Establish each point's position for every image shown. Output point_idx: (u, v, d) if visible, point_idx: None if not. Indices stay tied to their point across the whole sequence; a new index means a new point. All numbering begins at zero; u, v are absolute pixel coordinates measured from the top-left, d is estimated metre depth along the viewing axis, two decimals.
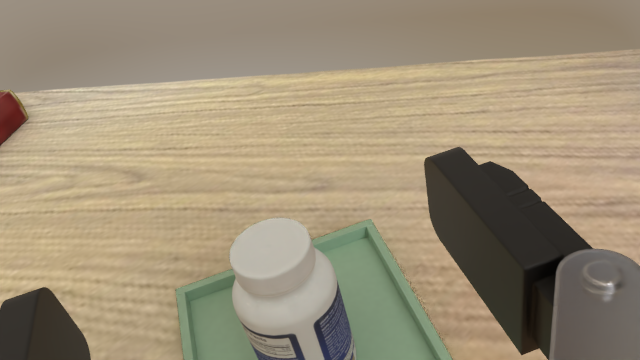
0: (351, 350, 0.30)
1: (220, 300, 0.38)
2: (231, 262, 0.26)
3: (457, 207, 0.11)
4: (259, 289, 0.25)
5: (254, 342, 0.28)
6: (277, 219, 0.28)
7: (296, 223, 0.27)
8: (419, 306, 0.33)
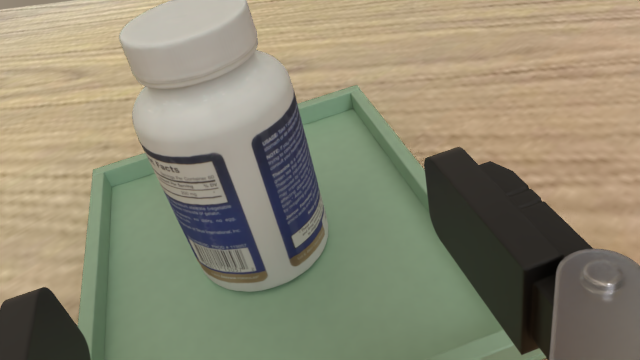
0: (319, 216, 0.21)
1: (152, 183, 0.28)
2: (120, 36, 0.16)
3: (456, 207, 0.11)
4: (161, 71, 0.16)
5: (165, 182, 0.18)
6: None
7: None
8: (420, 168, 0.23)
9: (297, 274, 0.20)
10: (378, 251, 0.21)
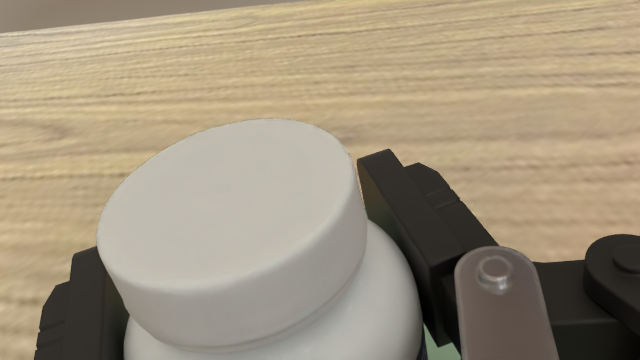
0: None
1: None
2: (99, 237, 0.08)
3: (381, 205, 0.11)
4: (183, 328, 0.07)
5: None
6: (255, 122, 0.10)
7: (309, 129, 0.09)
8: None
9: None
10: None
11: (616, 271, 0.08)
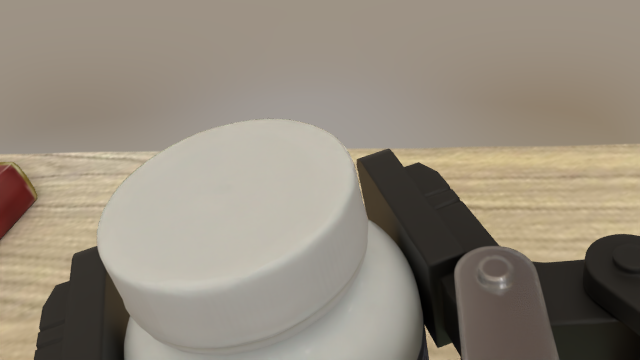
0: None
1: None
2: (99, 238, 0.08)
3: (381, 206, 0.11)
4: (183, 329, 0.07)
5: None
6: (255, 123, 0.10)
7: (310, 129, 0.09)
8: None
9: None
10: None
11: (616, 271, 0.08)
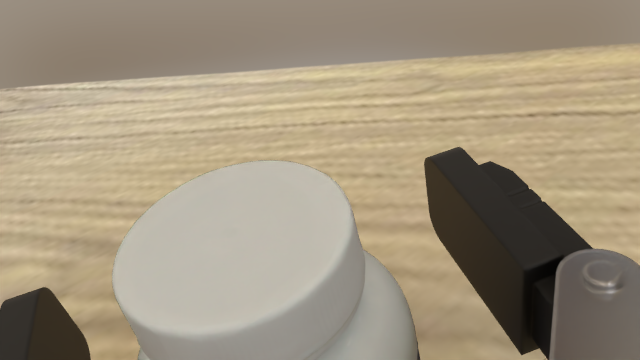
0: None
1: None
2: (114, 280, 0.09)
3: (457, 207, 0.11)
4: None
5: None
6: (259, 164, 0.10)
7: (310, 172, 0.10)
8: None
9: None
10: None
11: None
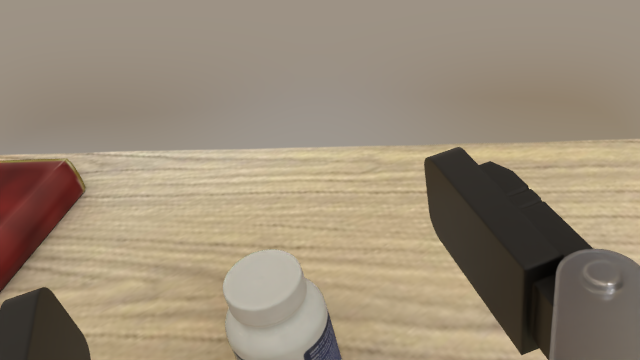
0: None
1: None
2: (224, 293, 0.27)
3: (457, 207, 0.11)
4: (251, 320, 0.26)
5: None
6: (270, 251, 0.29)
7: (288, 255, 0.28)
8: None
9: None
10: None
11: None
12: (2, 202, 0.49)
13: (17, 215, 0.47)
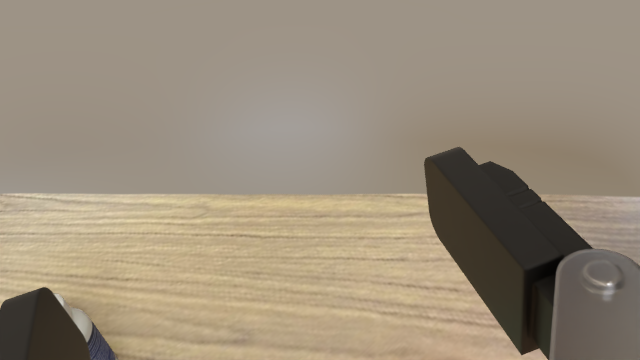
0: None
1: None
2: None
3: (457, 207, 0.11)
4: None
5: None
6: None
7: (59, 297, 0.42)
8: None
9: None
10: None
11: None
12: None
13: None
